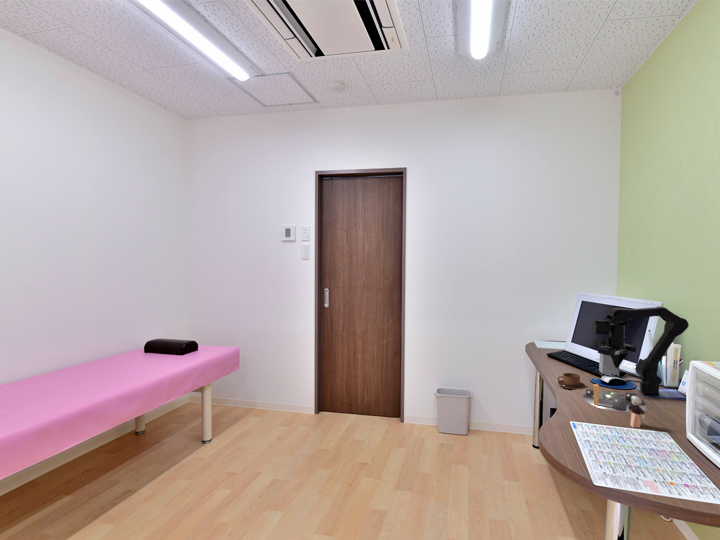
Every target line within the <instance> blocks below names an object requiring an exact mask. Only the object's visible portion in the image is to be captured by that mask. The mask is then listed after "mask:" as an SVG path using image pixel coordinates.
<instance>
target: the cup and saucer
mask: <svg viewBox="0 0 720 540" xmlns="http://www.w3.org/2000/svg"><path fill="white" fill-rule="evenodd" d="M562 375H563V376H562ZM562 375H561V376H560V375H559V376H558V377H557V381H558V382H557V384H558V385H559V386H560V387H562V388H564V389H568V390H580V389H585V388H586V383H584V382H581V375H579V374H577V373H574V372H573V373H572V372H565V373H562ZM560 378H562V379H561V380H560ZM563 385H565V386H563Z"/></svg>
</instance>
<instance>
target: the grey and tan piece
mask: <svg viewBox="0 0 720 540" xmlns="http://www.w3.org/2000/svg"><path fill="white" fill-rule="evenodd" d="M593 390H594V405H597V406H598V405H599V404H606V405H612V406H613V408H614V409H617V410H627V399H625V398H622V397H613V401H612V400H605V399H599V392H600V389H599V384H597V383H596V384H595V383H594V384H593ZM594 405H593V406H594ZM597 406H596V407H597Z"/></svg>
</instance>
